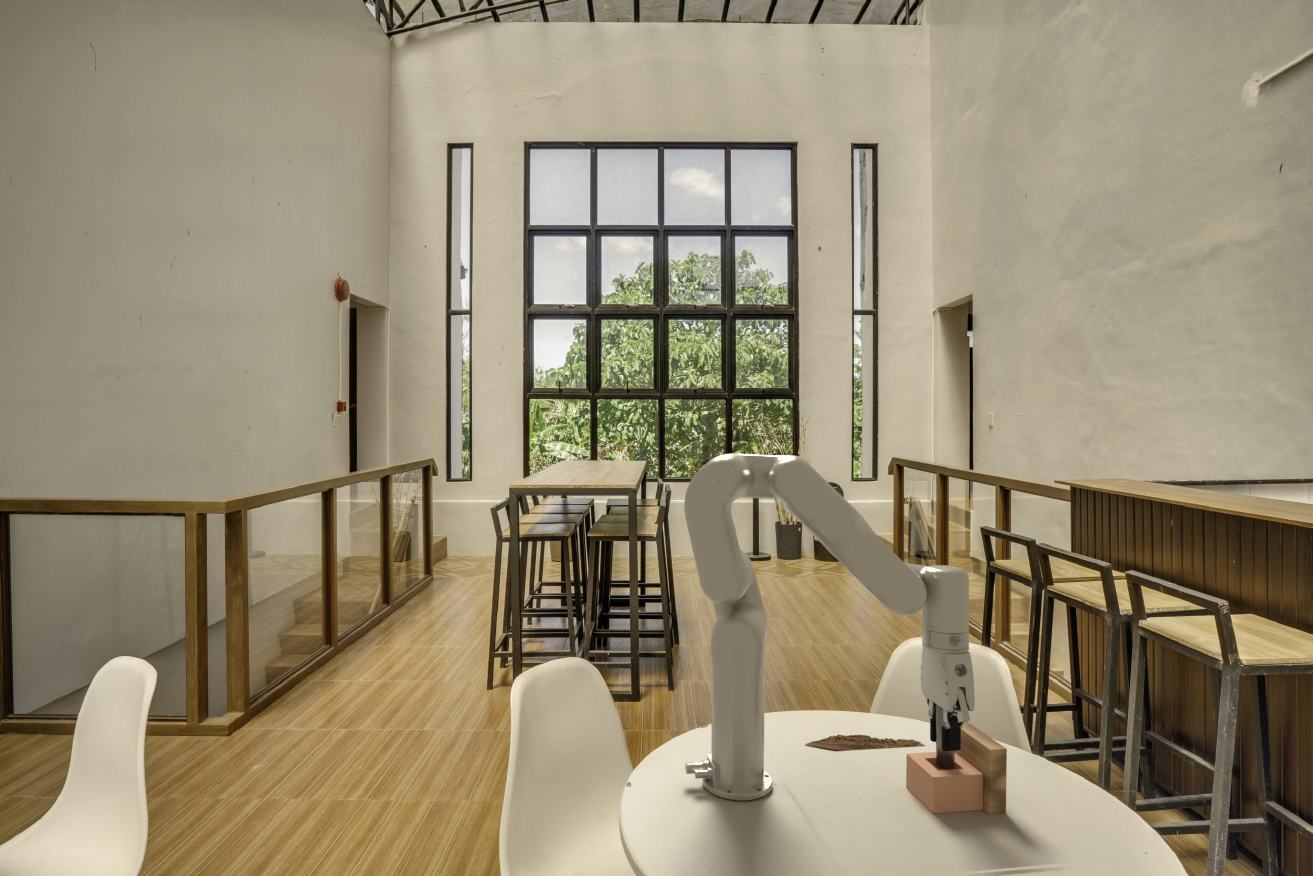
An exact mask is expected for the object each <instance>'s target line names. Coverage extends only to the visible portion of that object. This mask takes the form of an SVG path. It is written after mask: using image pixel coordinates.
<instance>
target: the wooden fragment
mask: <svg viewBox="0 0 1313 876" xmlns="http://www.w3.org/2000/svg"><path fill="white" fill-rule="evenodd" d="M805 746H809V747H815V748H816V747H817V748H822V749H828V750H829V749H830V750H834V751H835V750H836V751H844V752H845V751H846V752H847V751H849V752H850V751H863V750H864V751H866V750H881V749H883V750H884V749H886V750H887V749H897V748H898V749H900V748H902V749H904V748H915V747H916V748H917V747H920V748H921V747H926V745H925V744H923V742H921V741H919V740H915V739H913V738H911V739H903V738H901V739H900V738H898V739H897V740H896V739H893V738H884V739H883V738H878V737H871V736H869V735H866V734H850V735H843V734H837V735H829V736H828V737H826V738H825V737H824V738H821V739H820V740H812V741H810V742H807V743H806V744H805Z"/></svg>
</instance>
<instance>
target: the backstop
mask: <svg viewBox="0 0 1313 876" xmlns="http://www.w3.org/2000/svg"><path fill="white" fill-rule="evenodd" d="M955 752H956V753H957V754H958V755H960V756H961V757H962V758H963V759H965V760H966V761H967V762H968V763H970V764H971V765H972V766H974V767H975V768H976V769H977V770H979V771H980V772H981V773H983V810H982V811H984V812H985V813H986V814H988V815H989V816H991V815H992V816H993V815H1005V814H1007V767H1008V765H1007V764H1008V763H1007V760H1008V757H1007V755H1008V754H1007V753H1008V749H1007V747H1005V746H1003V745H1002V744H1000V743H999V742H997V741H996V740H994V738H992V737H990V736H989V735H987V734H986V733H984V732H983V731H981V730H980V729H979V728H977V727H976V726H975V725H973V724H972V723H970V722H969V721H967V722H964V723H963V727H962V728H961V749H960V750H957V751H955Z"/></svg>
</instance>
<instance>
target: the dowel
mask: <svg viewBox="0 0 1313 876" xmlns="http://www.w3.org/2000/svg"><path fill="white" fill-rule="evenodd" d="M953 708H956V706H953ZM954 715H956V714H955V713H950V718H951V717H952V716H954ZM943 726H944V716H943V708H941V707H940V706H939V705H937V704H936V742H935V752H936V766H937V767H939V768H941V769H945V770H952V769H954V768H955V751H944V750H942V727H943Z"/></svg>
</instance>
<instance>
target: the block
mask: <svg viewBox="0 0 1313 876" xmlns="http://www.w3.org/2000/svg"><path fill="white" fill-rule="evenodd" d="M905 774H906V775H905V779H906V780H905V786H906V787H905V788H906V789H907V790H908V791H909V792H910V794H912V795H913V796H914V797H915V798H916V799H918V801H919V802H921V804H923V806H924V807H925V808H927V810H928V811H929V812H931V814H944V813H945V814H946V813H960V812H972V811H973V812H974V811H984V810H983V773H981V772H980V771H979V770H977V769H976V768H975V767H974V766H972V765H971V764H970V763H968V762H967V761H966V760H965V759H963V758H962V757H961V756H960V755H958V754H957V753H956V752H955V768H954V769H952V770H945V769H941V768H939V767H937V766H936V751H932V752H931V751H929V752H913V753H912V752H911V753H906V772H905Z"/></svg>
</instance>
